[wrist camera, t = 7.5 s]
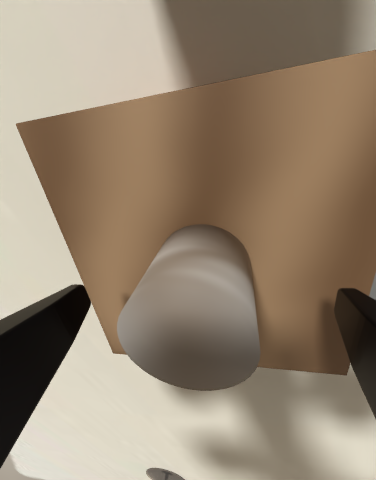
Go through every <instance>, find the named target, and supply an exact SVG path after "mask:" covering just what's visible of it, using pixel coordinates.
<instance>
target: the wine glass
mask: <svg viewBox="0 0 376 480" xmlns="http://www.w3.org/2000/svg"><path fill="white" fill-rule="evenodd" d="M146 474H147V476H148V477H149V478H150V479H152V480H184V479H183V478H182V477H180V476H179V475H177V474H175V473H173V472H170V471H167V470H164V469H159V468H150V469H148V470H147V471H146Z"/></svg>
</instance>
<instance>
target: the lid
mask: <svg viewBox="0 0 376 480" xmlns="http://www.w3.org/2000/svg"><path fill="white" fill-rule="evenodd" d="M16 126H17V128H18V131H19V133H20V136H21V138H22V140H23V143H24V145H25V147H26V150H27V152H28V154H29V157H30V159H31V161H32V164H33V166H34V168H35V171H36V173H37V175H38V178H39V180H40V182H41V185H42V187H43V190H44V192H45V194H46V197H47V199H48V201H49V204H50V206H51V208H52V211H53V213H54V215H55V218H56V220H57V222H58V225H59V227H60V229H61V232H62V234H63V237H64V239H65V241H66V244H67V246H68V248H69V251H70V253H71V255H72V258H73V260H74V262H75V265H76V267H77V269H78V272H79V274H80V276H81V279H82V281H83V284H84V286H85V288H86V291H87V293H88V295H89V298H90V300H91V302H92V305H93V307H94V309H95V312H96V314H97V316H98V319H99V321H100V323H101V326H102V328H103V331H104V333H105V335H106V338H107V340H108V342H109V345H110V347H111V349H112V352H113V353H115V354H126V355H128V356H129V357H130V359H131V360H132V361H133V362H134V363H135V364H136V365H138V366H139V367H140V368H141V369H142V370H144V371H145V372H147V373H148V374H150V375H152V376H153V377H155V378H157V379H159V380H161V381H163V382H166V383H168V384H171V385H174V386H177V387H181V388H186V389H192V390H201V391H211V390H220V389H226V388H229V387H232V386H235V385H237V384H239V383H241V382H243V381H245V380H246V379H247V378H248V377H250V376H251V374H252V373H253V372H254V371H255V369H256V368H257V367H264V368H274V369H285V370H295V371H306V372H317V373H327V374H338V375H347V372H348V369H349V365H350V360H349V357H348V354H347V351H346V348H345V345H344V342H343V339H342V336H341V333H340V330H339V327H338V324H337V321H336V318H335V315H334V306H335V301H336V296H337V291H338V289H340V288H355V289H358V290H359V291H361V292H363V293H364V294H366V295H368V296H369V295H370V291H371V287H372V284H373V280H374V277H375V273H376V50H372V51H368V52H363V53H358V54H353V55H348V56H343V57H338V58H333V59H329V60H324V61H319V62H314V63H309V64H304V65H299V66H295V67H290V68H285V69H280V70H275V71H270V72H265V73H260V74H256V75H251V76H246V77H241V78H236V79H231V80H226V81H221V82H217V83H212V84H207V85H202V86H197V87H192V88H187V89H183V90H178V91H173V92H168V93H163V94H158V95H153V96H148V97H144V98H139V99H134V100H129V101H124V102H119V103H114V104H110V105H105V106H100V107H95V108H90V109H85V110H80V111H75V112H71V113H66V114H61V115H56V116H51V117H46V118H41V119H37V120H32V121H27V122H22V123H17V124H16Z"/></svg>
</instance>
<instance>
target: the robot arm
mask: <svg viewBox="0 0 376 480" xmlns="http://www.w3.org/2000/svg"><path fill="white" fill-rule="evenodd" d="M90 305H91V300H90V298H89V295H88V293H87V291H86V288H85V287H84V286H83V285H71V286H69V287H67V288H65V289H63V290H61V291H59V292H57V293H55V294H52V295H50V296H48V297H46V298H44V299H42V300H40V301H38V302H36V303H34V304H32V305H30V306H28V307H26V308H24V309H22V310H20V311H18V312H16V313H14V314H12V315H9V316H7V317H5V318H3V319H1V320H0V468H1V466H2V465H3V463H4V461H5V460H6V458H7V456H8V454H9V453H10V451H11V449H12V447H13V446H14V444H15V442H16V441H17V439H18V437H19V435H20V434H21V432H22V430H23V428H24V427H25V425H26V423H27V422H28V420H29V418H30V416H31V415H32V413H33V411H34V410H35V408H36V406H37V404H38V403H39V401H40V399H41V397H42V396H43V394H44V392H45V391H46V389H47V387H48V385H49V384H50V382H51V380H52V378H53V377H54V375H55V373H56V372H57V370H58V368H59V366H60V365H61V363H62V361H63V359H64V358H65V356H66V354H67V353H68V351H69V349H70V347H71V345H72V344H73V342H74V340H75V338H76V336H77V334H78V331H79V329H80V327H81V325H82V323H83V321H84V319H85V317H86V314H87V312H88V310H89V308H90ZM334 315H335V318H336V321H337V324H338V327H339V330H340V333H341V336H342V339H343V342H344V345H345V348H346V351H347V354H348V357H349V360H350V363H351V365H352V368H353V370H354V372H355V375H356V377H357V379H358V381H359V383H360V386H361V388H362V390H363V392H364V394H365V396H366V399H367V401H368V403H369V405H370V407H371V409H372V412H373V414H374V416H375V418H376V300H375V299H373V298H371V297H370V296H368V295H366V294H364V293H363V292H361V291H359V290H358V289H355V288H340V289H338V291H337V296H336V301H335V306H334Z"/></svg>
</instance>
